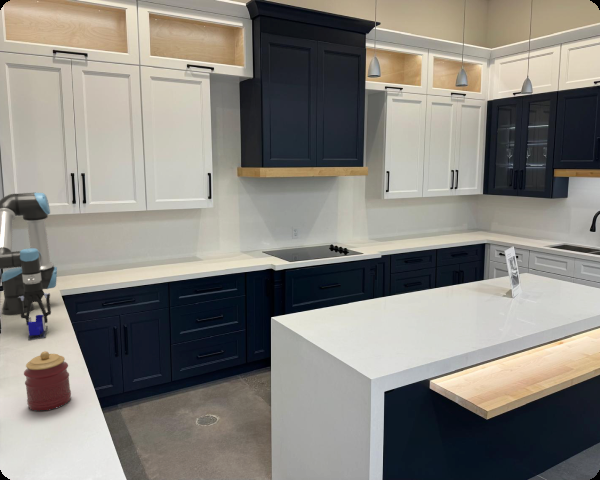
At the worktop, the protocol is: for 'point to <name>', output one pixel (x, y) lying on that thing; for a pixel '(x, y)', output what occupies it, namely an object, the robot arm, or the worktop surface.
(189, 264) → the worktop surface
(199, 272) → the worktop surface
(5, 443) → the worktop surface
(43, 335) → the rail
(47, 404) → the canister
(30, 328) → the cable clip
